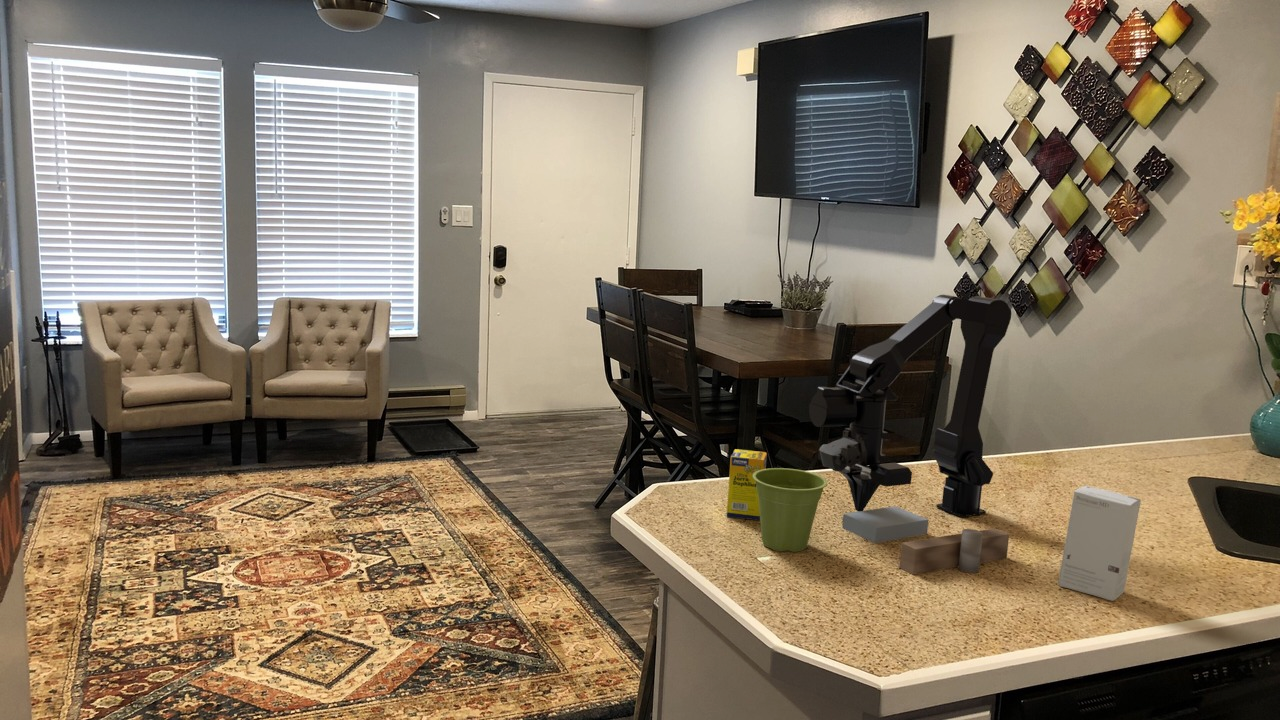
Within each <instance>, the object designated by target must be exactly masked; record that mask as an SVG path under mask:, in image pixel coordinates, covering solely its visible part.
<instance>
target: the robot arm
mask: <svg viewBox="0 0 1280 720" xmlns="http://www.w3.org/2000/svg"><path fill="white" fill-rule="evenodd" d="M1011 319H1012V308H1010V306H1009V305H1008V303H1007V302H1006V301H1005V300H1002V299H998V298H992V297H985V296H979V295H977V296H972V297H970V298H969V299H965V298H964V299H963V298H960V297H959V296H954V295H949V294H940V295H937V296H935V297H934V298H933V300H932V302H931V303H930V304H929V305H927V306H926V307H925V308H924V309H922V310H921V311H920V312H919V313H918V314H916V316H914V317H913V318H912V319H910V320H909V321H908V322H907V323H906V324H904V325H902V327H900V328H899V329H898V330H896V332H894V333H893V334H892V335H891V336H890V337H889V338H887V339H885V340H883V341H880V342H878V343H874V344H872V345H869V346H868V347H866V348H864V349H862V350H861V351H859V352H857V353H856V354H854V355H853V356H852V358H851V359H850V360H849V366H848V367H847V369H846V370H845V371H844V373H843V374H842V376H841V377H840V378H839V379H838V381H837V382H836V384H835V387H827V386H818V387H817V391H816V393H815V394H814V395H813V396H812V398H811V401H810V403H808V404H809V405H808V413H809V417H810V418H809V419H810V421H811V423H812V424H813V426H815V427H817V428H821V427H822V428H823V427H824V428H825V427H845V428H844V430H843V431H842V437H841V438H839V439H837V440H834V441H832V442H829V443H827V444H826V443H824V444H822V445H821V446H820V447H819V448H818V454H817V455H818V456H817V460H818V461H820V462H821V463H822V466H823V467H824V468H828V469H831V470H832V471H834V472H838V473H840V474H841V475H843V477H844V478H845V479H846V480H847V482H848V485H849V486H848V487H849V489H850V493H851V499H852V502H853V505H854V509H855V512H859V511H865V509H866V507H867V505H868V504H869V502H870V500H871V499H872V497H873V496H874V494H875V492H876V491H877V489H879V488H880V486H882V487H894V486H895V487H896V486H903V485H911V484H912V476H913V471H912V470H911V469H910V468H909V467H908V466H906V465H903V464H901V463H897V462H888V463H880V462H886V461H887V455H886V454H884V453H882V449H883V439H889V432H887V431H884V427H885V415H886V406H887V402H888V401H897V400H898V396H897V395H896V394H895V393H894V392H893V391H892V390H891V388H890V385H891V384H892V383H893V382H894V381H895V380H896V379H897V378H898V377H899V376H900V374H901V373H902V371H903V368H904V366H905V363H906V362H907V361H908V359H909V358H910V357H912V356H913V355H914V354H915V353H916V352H917V351H919V349H921V348H922V347H924V345H926V344H927V343H929V342H930V340H932V339H933V338H935V337H936V336H937V335H938V334H939V333H940V332H941V331H943V330H944V329H945V328H947V326H949V325H950V324H951V323H952V322H954V321H955V320H960V330H961V334H962V337H963V341H964V350H963V354H962V355H963V356H962V359H961V366H960V371H959V376H958V381H957V386H956V390H955V395H954V401H953V406H952V411H951V415H950V419H949V422H948V423H947V424H946V426H945V427H944V428H943V429H941V428H938V427H937V428H936V429H935V435H934V442H933V445H932V447H931V450H933V457H934V458H933V459H934V460H935V461H936V463H937V466H938V471H939V473H940V474H943V475H946V476H947V477H945V480H944V486H943V490H942V491H943V492H942V499H941V503H937V504H936V505H935V507H936V508H938V509H940V510H943V511H946V512H948V513H950V514H953V515H955V516H957V517H961V518H962V517H970V516H971V517H972V516H977V515H984V514H987V511H986V509H982V508H980V507H981V498H982V490H983V487H984V486H985V485H990V484H991V482H992V481H991V480H992V479H993V476H994V472H993V471H992V470H991V468H990V467H989V466H988V464H987V463H986V462H985V461H984V459H983V452H984V442H983V438H982V436H981V435H982V434H981V431H980V429H979V425H980V419H981V414H982V409H983V405H984V399H985V395H986V390H987V384H988V379H989V375H990V371H991V365H992V359H993V354H994V350H995V348H996V347H997V346H998V345H999V343H1000V342H1001V341H1002V340H1003V339H1004V338H1005V336H1006V335H1007V332H1008V328H1009V326H1010V323H1011ZM847 426H849V427H847Z"/></svg>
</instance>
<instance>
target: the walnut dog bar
mask: <svg viewBox="0 0 1280 720" xmlns="http://www.w3.org/2000/svg"><path fill="white" fill-rule="evenodd" d="M1009 539H1010V534H1009V533H1007V532H1005V531H1003V530H1000V529H997V528H988V529H982V530H978V529H977V530H976V529H973V528H972V529H971V528H965V529H962V531H961V533H956V534H949V535H944V536H937V537H930V538H923V539H916V540H911V541H905V542H901V544H900V545H901V547H900V556H899V557H900V558H899V565H898V568H899V569H901V570H903V571H905V572H907V573H909V574H911V575H917V574H924V573H929V572H935V571H941V570H947V569H952V568H957V569H958V570H959V571H961V572H965V573H968V574H975V573H979V569H980V563H981V564H982V563H987V562H991V561H998V560H1002V559H1004V560H1005V559H1007V558H1008V549H1009V541H1010V540H1009Z"/></svg>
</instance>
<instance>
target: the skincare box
mask: <svg viewBox="0 0 1280 720" xmlns="http://www.w3.org/2000/svg"><path fill="white" fill-rule="evenodd" d="M1071 501H1072V502H1071V508H1070V513H1069V518H1068V525H1067V531H1066V534H1065V535H1066V536H1065V543H1064V548H1063V552H1062V558H1061V559H1062V560H1061V564H1060V569H1059V570H1060V571H1059V575H1058V576H1059V577H1058V586H1059V587H1061V588H1065V589H1070V590H1073V591H1075V592H1080V593H1083V594H1087V595H1091V596H1095V597H1098V598H1101V599H1104V600H1107V601H1113V602H1114V601H1116V600H1117V599H1118V598H1119V597H1120V596H1122V594H1124V592H1125V588H1126V583H1127V578H1128V573H1129V572H1128V571H1129V566H1130V562H1131V557H1132V556H1131V555H1132V551H1133V545H1134V540H1135V534H1136V529H1137V523H1138V518H1139V512H1140V507H1141V501H1142V500H1141V498H1138V497H1134V496H1131V495H1126V494H1123V493H1120V492H1119V493H1118V492H1116V491H1112V490H1109V489H1102V488H1098V487H1094V486H1089V485H1083V486H1082V487H1080V488H1078V489H1075V490H1074V492H1073V497H1072V500H1071Z"/></svg>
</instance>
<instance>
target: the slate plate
mask: <svg viewBox="0 0 1280 720" xmlns="http://www.w3.org/2000/svg"><path fill="white" fill-rule="evenodd" d="M842 516H843V517H842V526H841V528H842V529H843V530H845V531H847V532H850V533H851V534H854V535H856V536H858V537H861V538H863V539H865V540H867V541H870V542H872V543H874V544H878V543H883V542H889V541H896V540H901V539H907V538H912V537H917V536H924V535H928V532H929V531H928V528H929V521H930V520H929V519H928V518H926V517H924V516H920V515H919V514H916V513H913V512H911V511H909V510H905V509H902V508H900V507H898V506H896V505H893V506H888V507H887V506H885V507H880V508H875V509H874V508H873V509H868V510H863V511H853V512H852V511H851V512H846V513H843V514H842Z"/></svg>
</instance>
